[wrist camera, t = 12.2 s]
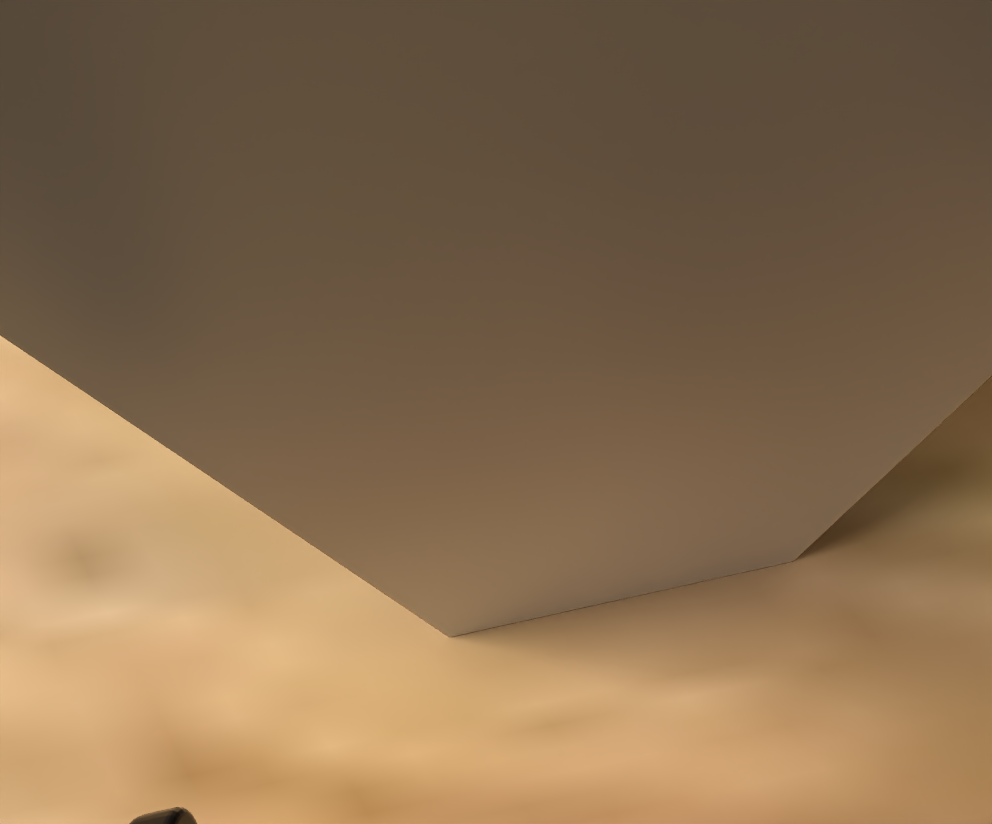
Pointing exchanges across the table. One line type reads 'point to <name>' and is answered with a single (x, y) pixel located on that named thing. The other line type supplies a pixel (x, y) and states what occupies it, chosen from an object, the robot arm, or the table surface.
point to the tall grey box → (509, 268)
